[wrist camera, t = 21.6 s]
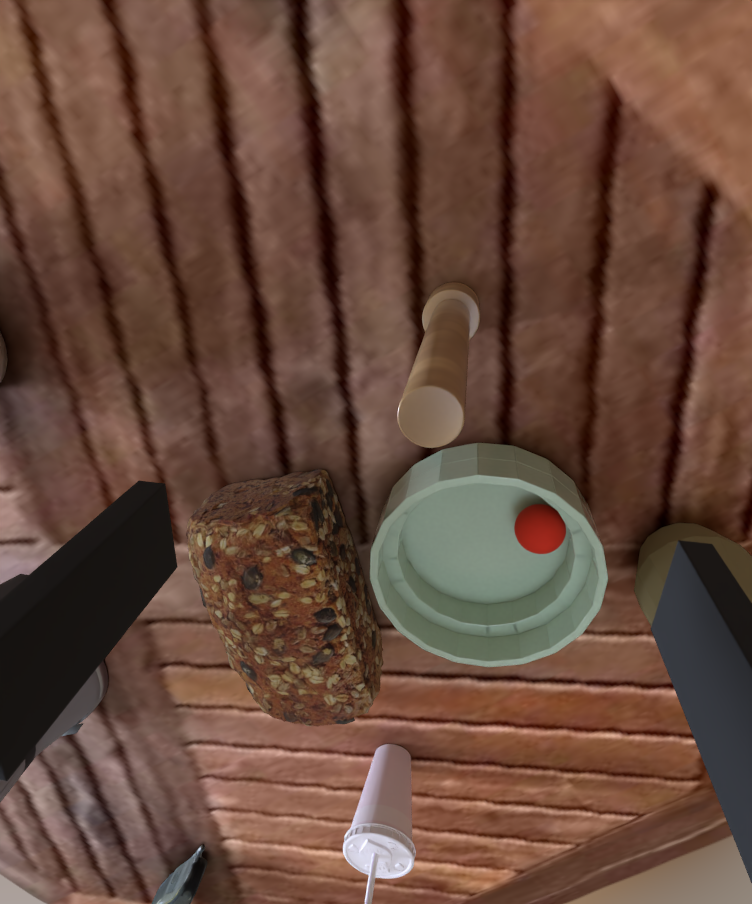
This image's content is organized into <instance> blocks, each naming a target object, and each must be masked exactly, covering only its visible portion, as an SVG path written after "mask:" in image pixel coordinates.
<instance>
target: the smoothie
mask: <svg viewBox="0 0 752 904" xmlns="http://www.w3.org/2000/svg"><path fill="white" fill-rule="evenodd" d="M343 854H344V856H345V858H346V860H347V861H348V862H349V863H350V864H351V865H352V866H353V867H354V868H356V869H357V870H359V871H360V872H362V873H364V874H367V875H369V878H368V885H367V891H366V897H365V903H364V904H371V903H372V897H373V890H374V883H375V877H377V878H388V879H391V878H398V877H401V876H404V875H406V874H407V873H409V872H410V871H411V869H412V868H413V866H414V858H415V854H416V849H415V846H414V844H413V842H412V795H411V756H410V754H409V752H408V751H407V750H406V749H404V748H403V747H401V746H398V745H394V744H385V745H382V746H380V747H378V748H377V750H376V752H375V755H374V758H373V761H372V764H371V767H370V770H369V774H368V777H367V780H366V783H365V786H364V789H363V792H362V795H361V798H360V801H359V804H358V807H357V811H356V814H355V816H354V820H353V823H352V826H351V828H350V829H349V830H348V831H347V832H346V834H345V837H344V845H343Z"/></svg>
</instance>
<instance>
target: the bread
mask: <svg viewBox="0 0 752 904" xmlns="http://www.w3.org/2000/svg"><path fill="white" fill-rule="evenodd" d="M186 536H187V538H188V548H189V559H190V561H191V563H192V567H193V573H194V577H195V580H196V581H197V582H198V583H199V586H200V592H201V596H202V601H203V605H204V607H206V608H207V610H208V613H209V616H210V618H211V620H212V623H213V627H214V628H215V629H216V630H217V631H218V633H219V634H220V639H221V640H222V641H223V643H224V646H225V650H226V653H227V654H228V660H229V663H230V666H231V668H233V669H234V670H235V671H237V672H238V673H239V675H240V676H241V677H242V679H243V680H244V681H245V682H246V685H247V688H248V690H249V692H250V693H251V694H252V696H253V699H254V700H255V701H256V702H257V703H258V704H259V706H260V708H261V709H262V710H263V712H264V713H267V714H269V715H270V716H272V717H274V718H277V719H281V720H283V721H288V722H292V723H301V724H305V725H306V726H320V725H328V724H347V723H350V722H352V721H355V720H354V717H355V716H358V715H361V714H365V713H368V711H369V708H370V707H371V706H372V704H373V701H374V699H375V698H376V696H377V695H378V694H379V691H380V676H381V674H382V671H381V667H382V665H383V659H382V651H383V648H382V639H381V633H380V629H379V627H378V626H377V623H376V619H375V616H374V613H373V610H372V607H371V602H370V597H369V593H368V591H367V586H366V584H365V582H364V577H363V573H362V568H361V567H360V565H359V560H358V556H357V553H356V550H355V546H354V543H353V540H352V537H351V534H350V530H349V529H348V527H347V526H346V523H345V516H344V514H343V513H342V509H341V506H340V503H339V502H338V501H337V495H336V493H335V491H334V488H333V485H332V481H331V479H330V478H329V476H328V473H327V472H326V471H325V470H319V469H317V470H313V471H311V472H309V473H307V472H295V473H291V474H288V475H286V476H283V477H281V478H279V477H274V478H271V479H267V480H259V479H254V480H249V481H245V482H240V483H233V484H230V485H227V486H225V487H223V488H222V489H220V490H218V491H217V492H215V493H213V494H211V495H210V497H209V498H208V499H206V500H205V501H204V503H203V504H202V505H201V507H200V508H199V509H198V510H196V511H194V513H193V515H192V516H191V518H190V520H189V522H188V525H187V533H186Z"/></svg>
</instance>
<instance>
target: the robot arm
mask: <svg viewBox="0 0 752 904" xmlns="http://www.w3.org/2000/svg"><path fill="white" fill-rule="evenodd" d="M176 568H177V561H176V554H175V548H174V541H173V534H172V527H171V520H170V514H169V507H168V500H167V493H166V486H165V484H163V483H154V482H145V481H138V482H137V483H136V484H134V485H133V486H132V487H131V488H130V489H129V490H127V491H126V492H125V493H124V494H123V495H122V496H121V497H119V498H118V499H117V500H116V501H115V502H114V503H112V504H111V505H110V506H109V507H108V508H107V509H105V510H104V511H103V512H102V513H101V514H100V515H98V516H97V517H96V518H95V519H94V520H93V521H91V522H90V523H89V524H88V525H87V526H86V527H85V528H83V529H82V530H81V531H80V532H79V533H78V534H76V535H75V536H74V537H73V538H72V539H71V540H69V541H68V542H67V543H66V544H65V545H64V546H62V547H61V548H60V549H59V550H58V551H57V552H55V553H54V554H53V555H52V556H51V557H50V558H49V559H47V560H46V561H45V562H44V563H43V564H42V565H40V566H39V567H38V568H37V569H36V570H35V571H33V572H32V573H31V574H30V575H24V574H20V575H18V576H16V577H14V578H12V579H10V580H8V581H6V582H4V583H2V584H0V802H1V801H2V800H3V798H4V797H5V796H6V794H7V793H8V792H9V791H10V789H11V788H12V787H13V785H14V784H15V783H16V781H17V780H18V779H19V777H20V776H21V775H22V774H23V772H24V771H25V770H26V768H27V767H28V766H29V765H30V763H31V762H32V761H33V760H34V758H35V757H36V756H37V755H38V754H39V753H40V752H41V751H43V750H44V749H45V748H46V747H48V746H49V745H50V744H52V743H53V742H54V741H55V740H57V739H58V738H59V737H60V736H64V735H70V734H75V733H77V732H78V730H79V729H80V727H81V726H82V725H83V724H79V723H80V722H82V721H83V720H84V719H86V718H87V717H88V716H89V715H90V714H91V712H93V711H94V709H95V708H96V707H97V705H98V704H99V703H100V701H101V700H102V699H103V697H104V695H105V693H106V691H107V687H108V674H107V669H106V666H105V664H104V661H103V660H104V659H105V657H106V656H107V655H108V654H109V652H110V651H111V650H112V649H113V647H114V646H115V645H116V644H117V642H118V641H119V640H120V639H121V637H122V636H123V635H124V634H125V632H126V631H127V630H128V628H129V627H130V626H131V625H132V623H133V622H134V621H135V620H136V618H137V617H138V616H139V615H140V613H141V612H142V611H143V610H144V608H145V607H146V606H147V605H148V603H149V602H150V601H151V600H152V598H153V597H154V596H155V594H156V593H157V592H158V591H159V589H160V588H161V587H162V586H163V584H164V583H165V582H166V581H167V579H168V578H169V577H170V576H171V574H172V573H173V572H174V571H175V569H176ZM651 631H652V633H653V636H654V638H655V641H656V643H657V646H658V648H659V651H660V653H661V656H662V658H663V661H664V663H665V666H666V668H667V671H668V673H669V676H670V678H671V681H672V684H673V686H674V689H675V691H676V694H677V696H678V699H679V701H680V704H681V706H682V709H683V711H684V714H685V716H686V719H687V721H688V724H689V726H690V729H691V731H692V734H693V736H694V739H695V742H696V744H697V747H698V749H699V752H700V754H701V757H702V759H703V762H704V764H705V767H706V769H707V772H708V774H709V777H710V779H711V782H712V784H713V787H714V789H715V792H716V794H717V797H718V800H719V802H720V805H721V807H722V810H723V812H724V815H725V817H726V820H727V822H728V825H729V827H730V830H731V832H732V835H733V837H734V840H735V842H736V845H737V847H738V850H739V852H740V855H741V857H742V860H743V862H744V865H745V868H746V870H747V873H748V875H749V878H750V880H751V883H752V603H751V601H750V600H749V598H748V597H747V595H746V594H745V592H744V591H743V589H742V588H741V586H740V585H739V583H738V582H737V580H736V579H735V577H734V576H733V574H732V573H731V571H730V570H729V568H728V567H727V565H726V564H725V562H724V561H723V559H722V558H721V556H720V555H719V553H718V552H717V550H716V549H715V547H714V546H713V544H708V543H699V542H690V541H681V540H678V543H677V546H676V549H675V552H674V555H673V559H672V562H671V565H670V568H669V572H668V575H667V578H666V581H665V584H664V588H663V591H662V594H661V597H660V601H659V604H658V607H657V610H656V613H655V617H654V620H653V623H652V626H651Z"/></svg>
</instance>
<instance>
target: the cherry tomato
mask: <svg viewBox="0 0 752 904" xmlns="http://www.w3.org/2000/svg"><path fill="white" fill-rule="evenodd" d="M514 531H515V535H516V538H517V540H518V542H519V543H520V544H521V546H522V547H523V548H525V549H526V550H528V551H530V552H532V553H535V554H547V553H550V552H553V551H555V550H556V549H557V548H558V547H559V546H560V545H561V544H562V543H563V541H564V539H565V535H566V525H565V522H564V521H563V519H562V518H561V516H560V514H559V513H558V511H557V510H556V509H554V508H552V507H551V506H548V505H544V504H535V505H531V506H528V507H526V508H525V509H523V510H522V511H521V512H520V513H519V515H518V516H517V518H516V521H515V526H514Z"/></svg>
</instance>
